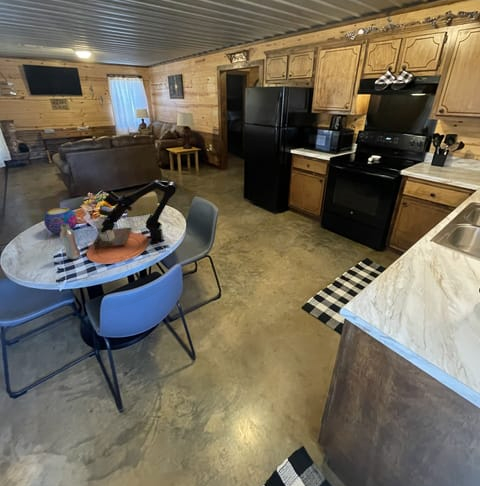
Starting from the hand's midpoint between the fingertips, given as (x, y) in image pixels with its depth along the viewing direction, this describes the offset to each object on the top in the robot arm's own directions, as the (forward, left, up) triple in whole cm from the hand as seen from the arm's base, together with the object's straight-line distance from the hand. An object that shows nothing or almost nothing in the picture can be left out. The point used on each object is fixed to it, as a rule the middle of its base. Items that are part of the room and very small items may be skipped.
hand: (103, 229), depth 155 cm
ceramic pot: (+34, -15, -9) cm, 38 cm away
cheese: (-9, -42, -9) cm, 44 cm away
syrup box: (-1, 0, -7) cm, 7 cm away
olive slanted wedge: (-3, -5, -9) cm, 10 cm away
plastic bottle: (+10, +16, -9) cm, 21 cm away
